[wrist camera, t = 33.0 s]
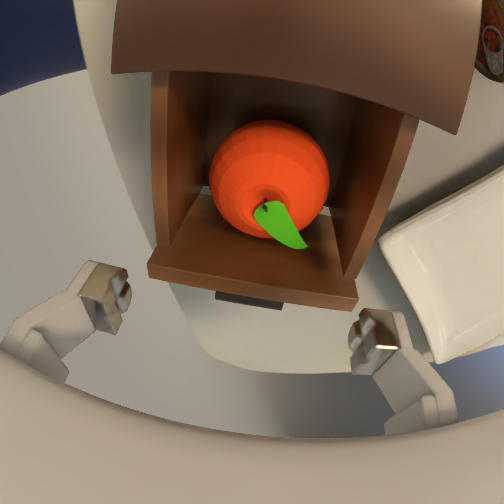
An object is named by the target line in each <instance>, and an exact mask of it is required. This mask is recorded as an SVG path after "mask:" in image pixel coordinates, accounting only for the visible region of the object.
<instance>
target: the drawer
mask: <svg viewBox="0 0 504 504" xmlns="http://www.w3.org/2000/svg"><path fill="white" fill-rule="evenodd" d="M265 119H268V120H281V121H284V122H287V123H290V124H293V125H296V126H298V127H299V128H300V129H302V130H303V131H305V132H306V133H308V134H309V135H310V136H311V137H312V138H313V139H314V140H315V142H316V143H317V144H318V145H319V146H320V148H321V149H322V151H323V153H324V155H325V157H326V160H327V162H328V167H329V175H330V186H329V191H328V197H327V200H326V202H325V204H324V206H327V207H329V210H330V214H331V216H326V215H321V214H318V215H317V216H316V217H315V218H314V220H313V221H312V222H311V223H310V224H309V225H308V226H306V227H305V228H303V229H302V230H300V231H299V234H300V236H301V237H302V239H303V241H304V242H305V244H306V245H307V244H308V243H309V246H308V247H306V248H304V249H294V248H291V247H289V246H287V245H285V244H283V243H281V242H280V241H278V240H276V239H275V238H261V237H256V236H253V235H249V234H246V233H244V232H242V231H240V230H239V229H237V228H235V227H233V226H232V225H231V224H230V223H229V222H228V221H227V220H226V219H225V218H223V216H222V215H221V213H220V212H219V210H218V209H217V207H216V205H215V202H214V199H213V196H211V195H204V194H199V193H200V191H201V190H202V188H203V186H210V183H209V173H210V168H211V165H212V161H213V157H214V154H215V152H216V151H217V149H218V147H219V146H220V144H221V142H222V141H223V140H224V139H225V138H226V137H227V136H228V135H230V134H231V133H232V132H233V131H234V130H236V129H238V128H240V127H242V126H244V125H246V124H248V123H250V122H255V121H260V120H265ZM418 123H419V119H417V118H415V117H412V116H410V115H407V114H404V113H402V112H399V111H396V110H394V109H391V108H388V107H385V106H382V105H379V104H376V103H373V102H370V101H367V100H363V99H360V98H357V97H353V96H350V95H346V94H342V93H338V92H335V91H331V90H326V89H322V88H318V87H313V86H309V85H304V84H299V83H294V82H288V81H282V80H276V79H270V78H263V77H255V76H247V75H238V74H227V73H213V72H189V71H159V72H152V82H151V120H150V133H151V173H152V193H153V207H154V220H155V231H156V241H157V246H156V248H155V250H154V252H153V253H152V255H151V257H150V259H149V260H148V262H147V268H148V274H149V277H150V278H153V279H158V280H163V281H167V282H172V283H177V284H182V285H187V286H193V287H198V288H203V289H208V290H214V291H216V292H215V299H216V300H222V301H227V302H233V303H239V304H244V305H250V306H256V307H262V308H269V309H275V310H282V307H283V303H284V302H285V303H292V304H298V305H305V306H312V307H319V308H327V309H334V310H342V311H350V312H351V311H352V310H353V308H354V307H355V305H356V303H357V302H358V299H359V298H358V293H357V288H356V284H355V279H356V278H357V276H358V274H359V272H360V270H361V268H362V266H363V264H364V262H365V260H366V258H367V255H368V253H369V251H370V249H371V247H372V245H373V242H374V240H375V238H376V236H377V233H378V231H379V229H380V227H381V224H382V222H383V220H384V217H385V215H386V212H387V210H388V208H389V205H390V203H391V200H392V198H393V195H394V193H395V190H396V187H397V185H398V182H399V179H400V177H401V174H402V171H403V169H404V166H405V163H406V160H407V157H408V154H409V151H410V148H411V145H412V142H413V139H414V136H415V133H416V129H417V126H418Z"/></svg>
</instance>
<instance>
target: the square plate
mask: <svg viewBox="0 0 504 504" xmlns="http://www.w3.org/2000/svg"><path fill="white" fill-rule="evenodd" d="M378 243H379V247H380V249H381V251H382V253H383V255H384V257H385V259H386V261H387V263H388V265H389V266H390V268H391V270H392V271H393V273H394V275H395V277H396V278H397V280H398V282H399V284H400V285H401V287H402V289H403V290H404V292H405V294H406V296H407V298H408V299H409V301H410V303H411V305H412V307H413V309H414V311H415V313H416V315H417V317H418V319H419V321H420V323H421V326H422V328H423V330H424V333H425V335H426V338H427V341H428V344H429V347H430V350H431V353H432V356H433V359H434V361H435V363H436V364H442V363H444V362H446V361H448V360H451V359H453V358H455V357H457V356H460V355H462V354H464V353H466V352H468V351H470V350H472V349H474V348H476V347H478V346H480V345H482V344H484V343H486V342H488V341H490V340H492V339H494V338H495V337H497V336H499V335H501V334H502V333H504V165H502V166H501V167H499V168H497V169H496V170H494V171H492V172H491V173H489V174H487V175H486V176H484V177H482V178H481V179H479V180H477V181H475V182H473V183H472V184H470V185H468V186H466V187H464V188H462V189H460V190H459V191H457V192H455V193H453V194H451V195H449V196H447V197H445V198H443V199H442V200H440V201H438V202H436V203H434V204H432V205H430V206H428V207H427V208H425V209H423V210H421V211H420V212H418V213H416V214H414V215H413V216H411V217H409V218H407V219H406V220H404V221H402V222H401V223H399V224H397V225H396V226H394V227H393V228H391V229H389V230H388V231H386V232H384V233H383V234H382V235H381V236H380V237H379V238H378Z"/></svg>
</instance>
